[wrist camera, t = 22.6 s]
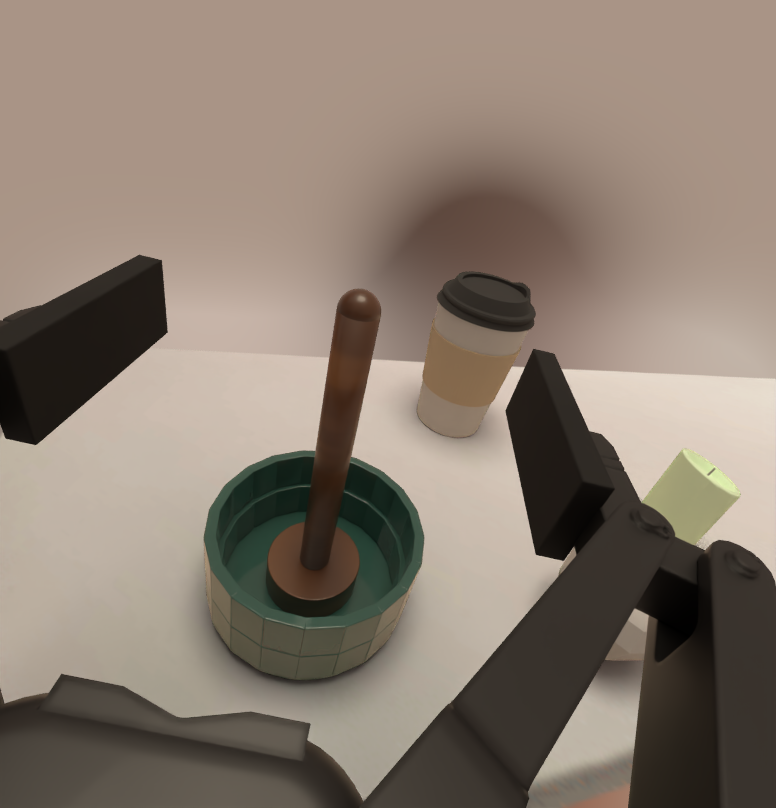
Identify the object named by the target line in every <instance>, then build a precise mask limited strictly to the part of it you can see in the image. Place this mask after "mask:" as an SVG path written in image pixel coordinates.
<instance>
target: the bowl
mask: <svg viewBox="0 0 776 808" xmlns="http://www.w3.org/2000/svg"><path fill="white" fill-rule="evenodd" d="M314 458H315V451H297V452H291V453H285V454H280V455H275V456H271V457H269V458H267V459H264V460H262V461H260V462H257V463H255V464H253V465H250V466H248V467H247V468H245V469H244V470H243V471H242V472H240V473H239V474H238V475H237V476H235V477H234V478H233V479H232V480H231V481H229V482H228V483H227V484H226V485H225V486H224V487H223V489H222V490H221V492H220V493H219V495H218V497H217V498H216V500H215V501H214V503H213V504H212V506H211V507H210V509H209V513H208V518H207V523H206V528H205V533H204V556H205V576H206V595H207V600H208V604H209V609H210V614H211V619H212V622H213V625H214V626H215V628H216V630H217V631H218V633H219V634H220V636H221V637H222V639H223V640H224V642H225V643H226V645H227V646H228V648H229V649H230V650H231V651H232V652H233V653H235V654H236V655H237V656H239V657H240V658H242V659H243V660H245V661H246V662H247V663H249V664H250V665H252V666H253V667H255V668H256V669H257V670H260V671H262V672H266V673H268V674H270V675H274V676H278V677H281V678H286V679H293V680H314V679H320V678H326V677H331V676H335V675H337V674H340V673H342V672H344V671H346V670H349V669H351V668H353V667H355V666H358V665H360V664H362V663H363V662H366V661H367V660H368V659H369V658H370V657H371V656H372V655H373V654H374V653H375V652H376V651H377V650H378V649H380V648H381V647H382V646H383V645H384V644H385V643H386V642H387V641H388V639H389V638H390V636H391V634H392V632H393V630H394V628H395V626H396V624H397V622H398V620H399V618H400V616H401V614H402V612H403V609H404V607H405V604H406V602H407V599H408V597H409V594H410V592H411V590H412V587H413V585H414V582H415V580H416V577H417V575H418V572H419V570H420V568H421V564H422V557H423V547H424V533H423V530H422V526H421V522H420V519H419V515H418V512H417V509H416V508H415V506H414V505H413V503H412V502H411V500H410V499H409V497H408V496H407V494H406V493H405V491H404V490H403V489H402V488H401V487H400V486H399V485H398V484H397V483H395V482H394V481H393V480H392V479H391V478H390V477H388V476H387V475H386V474H385V473H384V472H382V471H381V470H379V469H377V468H375V467H373V466H371V465H369V464H367V463H365V462H363V461H361V460H359V459H357V458H353V457H351V459H350V464H349V469H348V473H347V478H346V483H345V488H344V492H343V497H342V502H341V507H340V511H339V516H338V521H337V526H336V527H338V528H340V529H341V530H343V531H344V532H345V533H347V534H348V535H349V536H350V538H351V539H352V540H353V541H354V543H355V545H356V547H357V549H358V552H359V558H360V565H359V570H358V574H357V578H356V581H355V585H354V589H353V591H352V594H351V596H350V598H349V599H348V601H347V602H346V603H345V604H344V605H343V606H342V607H341V608H340V609H339V610H337V611H336V612H334V613H332V614H330V615H328V616H325V617H303V616H299V615H295V614H291V613H287V612H284V611H283V610H282V609H280V608H279V607H278V606H277V605H276V604H275V603H274V601H273V600H272V599H271V597H270V595H269V593H268V590H267V586H266V570H267V558H268V552H269V549H270V547H271V544H272V543H273V541H274V540H275V538H276V537H277V536H278V535H279V534H280V533H281V532H282V531H284V530H285V529H287V528H288V527H290V526H292V525H295V524H298V523H301V522H305V518H306V512H307V505H308V498H309V492H310V485H311V478H312V472H313V465H314Z"/></svg>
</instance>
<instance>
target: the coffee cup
mask: <svg viewBox="0 0 776 808" xmlns="http://www.w3.org/2000/svg"><path fill="white" fill-rule="evenodd" d="M437 300H438V307H437V312H436V317H435V318H434V319H433V322H432V327H431V332H430V338H429V343H428V348H427V354H426V359H425V364H424V370H423V381H422V386H421V391H420V396H419V401H418V406H417V414H418V416H419V418H420V420H421V421H422V422H423V423H424V424H425V425H426V426H427V427H429V428H430V429H432V430H433V431H435V432H437V433H439V434H442V435H445V436H449V437H456V438H462V437H468V436H470V435H472V434H474V433H475V432H476V431H477V429H478V427H479V425H480V423H481V421H482V419H483V417H484V415H485V414H486V412H487V410H488V408H489V406H490V404H491V403H492V402H493V400H494V399H495V397H496V395H497V393H498V391H499V389H500V388H501V386H502V384H503V382H504V380H505V378H506V376H507V374H508V372H509V371H510V369H511V367H512V365H513V363H514V361H515V359H516V357H517V356H518V354H519V352H520V350H521V344H522V342H523V340H524V338H525V336H526V334H527V332H528V330H529V329H531V328H532V327H533V326H534V317H535V315H536V313H535V310H534V307H533V306H532V305H531V304H530V289H529V288H528V287H527V286H526V285H525V284H523V283H513V282H510V281H508V280H506V279H503V278H500V277H497V276H494V275H490V274H486V273H481V272H462V273H460V274H459V275H458V276H457V277H456V278H455V279H453V280H450V281H448V282H446V283H445V284H444V286H443V289H442V290H441V291H440V292H439V293H438V295H437Z"/></svg>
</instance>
